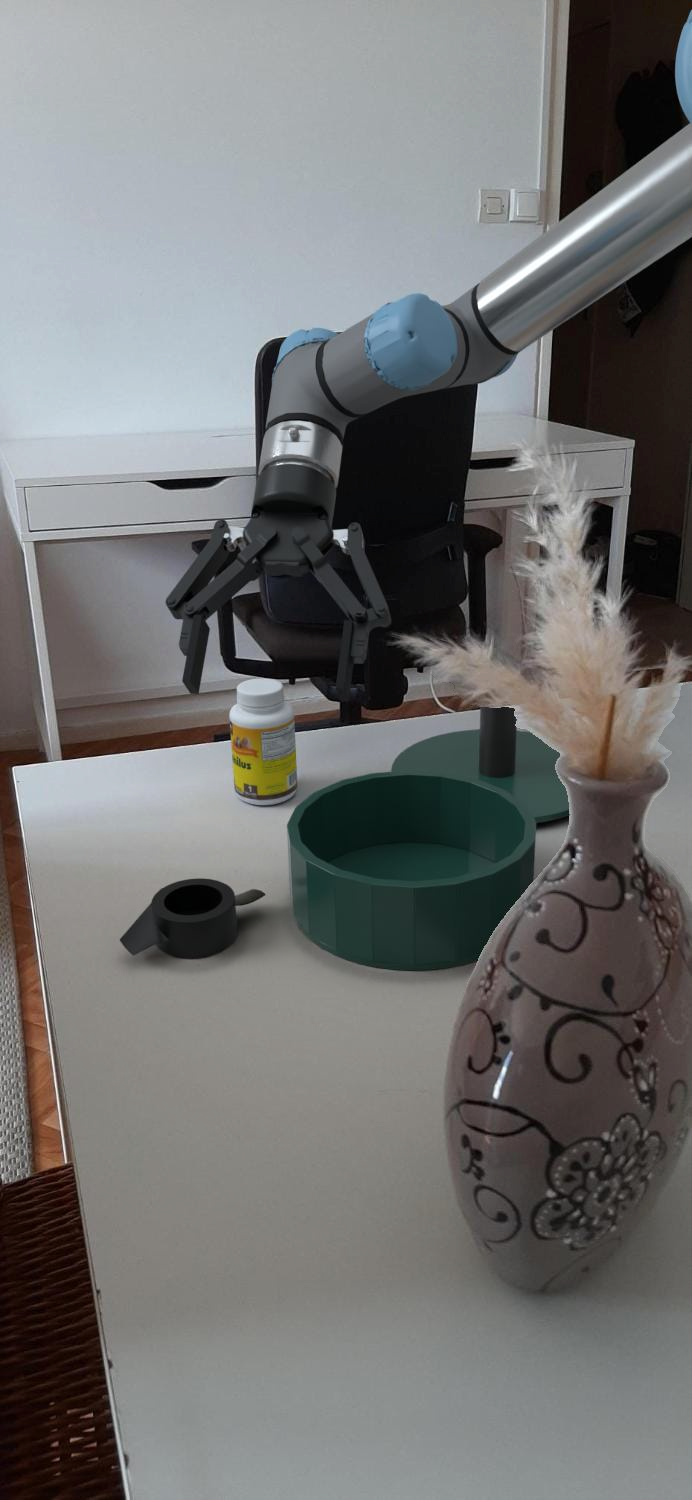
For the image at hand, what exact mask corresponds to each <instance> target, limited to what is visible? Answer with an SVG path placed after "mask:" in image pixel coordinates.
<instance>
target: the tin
mask: <svg viewBox="0 0 692 1500" xmlns="http://www.w3.org/2000/svg"><path fill="white" fill-rule="evenodd" d="M286 836H287V856H288V857H287V858H288V877H289V896H290V901H291V911H292V916H293V918H294V921H295V923H296V925H297V927H298V928H299V929H300V931H301V932H302V933H303V935H305V937H306V938H308V939H309V940H310V941H311V942H313V944H315V945H316V946H318V947H319V948H321V949H323V950H324V951H327V952H328V953H330V954H332V955H334V956H337V957H339V958H342V959H344V960H346V961H349V962H352V963H356V964H360V965H363V966H364V965H365V966H368V967H373V968H378V969H379V968H380V969H387V970H393V971H394V970H395V971H396V970H397V971H430V970H432V971H433V970H439V969H447V968H453V967H458V966H463V965H467V964H470V963H472V962H473V963H475V962H478V961H479V960H478V958H479V956H480V954H481V952H482V950H483V948H484V946H485V945H486V944H487V942H488V940H489V938H490V936H491V935H492V933H493V931H494V930H495V928H496V927H497V926H498V924H499V923H500V921H501V920H502V919H503V918H504V916H505V915H506V913H507V912H508V911H509V910H510V908H511V907H512V906H513V905H514V904H515V902H516V901H517V900H518V899H519V898H520V897H521V895H522V894H523V893H524V892H525V890H526V889H527V888H528V886H529V885H530V884H531V883H532V882H533V881H534V880H535V860H536V843H537V841H536V839H537V823H536V821H535V819H534V817H533V816H532V814H531V813H530V811H529V809H528V808H527V806H526V805H525V804H524V803H523V802H521V801H520V800H518V799H517V798H516V797H514V796H513V795H511V794H510V793H508V792H507V791H506V790H504V789H501V788H499V787H496V786H494V785H491V784H488V783H486V782H483V781H481V780H478V779H474V778H469V777H464V776H459V775H454V774H449V773H443V772H430V771H411V770H408V771H395V772H391V771H385V772H383V771H382V772H372V773H367V774H362V775H359V776H353V777H349V778H346V779H341V780H339V781H337V782H335V783H332V784H330V785H327V786H324V787H323V788H320V789H318V790H316V791H314V792H313V793H312V794H310V795H309V796H307V797H306V798H305V799H303V800H302V801H301V802H300V803H299V804H297V806H295V808H294V809H293V812H292V813H291V815H290V817H289V820H288V821H287V824H286ZM534 882H535V881H534Z"/></svg>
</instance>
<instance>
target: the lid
mask: <svg viewBox="0 0 692 1500" xmlns="http://www.w3.org/2000/svg"><path fill="white" fill-rule="evenodd" d="M514 711H515V709H514V708H509V707H501V708H489V707H480V709H479V729H477V728H476V729H467V730H466V729H465V730H458V731H451V732H447V733H441V734H438V735H434V736H431V737H428V738H425V739H422V740H419V741H417V742H416V743H414V744H411V745H410V746H409V747H407V748H405V749H404V750H403V751H402V752H400V753H399V754H398V755H397V756H396V757H395V759H394V760H393V763H392V765H391V770H390V772H395V771H408V770H411V771H430V772H443V773H449V774H454V775H459V776H464V777H469V778H474V779H478V780H481V781H483V782H486V783H488V784H491V785H494V786H496V787H499V788H501V789H504V790H506V791H507V792H508V793H510V794H511V795H513V796H514V797H516V798H517V799H518V800H520V801H521V802H523V803H524V804H525V805H526V806H527V808H528V809H529V811H530V813H531V814H532V816H533V817H534V819H535V821H536V824H539V823H545V822H550V821H554V820H559V819H562V818H566V817H568V816H570V815H569V802H568V795H567V791H566V788H565V786H564V785H563V784H562V782H561V781H560V779H559V778H558V775H557V773H556V770H555V764H556V761H557V759H558V758H559V757H560V753H559V752H557V751H556V750H554V749H552V748H551V747H549V746H548V745H547V744H545V743H544V742H543V741H542V740H541V739H539V738H538V737H536V736H535V735H533V734H532V733H533V732H531V733H530V731H525V730H518V726H517V727H516V726H515V724H516V721H517V722H518V718H517V719H516V717H515V716H514Z"/></svg>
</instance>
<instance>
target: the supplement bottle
mask: <svg viewBox="0 0 692 1500" xmlns="http://www.w3.org/2000/svg"><path fill="white" fill-rule="evenodd" d="M236 701H237V703H236V704H234V705H233V706H232V707H231V709H230V711H229V714H228V715H229V717H228V718H229V731H230V745H231V746H230V747H231V759H232V773H233V774H232V775H233V785H234V793H235V795H236V796H237V797H238V798H239V799H240V800H241V801H243V802H245V803H247V804H251V805H255V806H272V805H277V804H281V803H283V802H286V801H288V800H290V799H291V798H292V797H293V796H294V795H295V794H296V792H297V791H298V768H297V745H296V727H295V726H296V725H295V724H296V723H295V711H294V707H293V706H292V705H291V704H290V703H289V702H287V701H286V700H285V694H284V685H283V683H282V682H281V681H279V680H276V679H273V678H266V677H265V678H252V679H247V680H244V681H242V682H240V683H239V684H238V685H237V686H236Z"/></svg>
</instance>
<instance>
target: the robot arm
mask: <svg viewBox="0 0 692 1500" xmlns="http://www.w3.org/2000/svg"><path fill="white" fill-rule="evenodd" d="M674 67H675V68H674V79H675V87H676V88H675V89H676V94H677V97H678V100H679V104H680V107H681V110H682V111H683V113H684V115H685V117H686V119H687V120H688V122H689V123H688V124H687V125H685V126H684V127H683V128H681V129H680V130H679V131H677V132H676V133H675V134H674V135H672V136H671V137H669V138H668V139H667V140H666V141H664V142H663V143H662V144H660V145H659V146H658V147H656V148H655V149H654V150H653V151H651V152H650V153H648V154H647V155H646V156H644V157H643V158H642V159H641V160H639V161H638V162H636V164H634V165H633V166H631V167H630V168H629V169H627V170H626V171H624V172H623V173H622V174H621V175H619V176H618V177H617V178H615V179H614V180H612V181H611V182H610V183H608V184H607V185H606V186H605V187H603V188H602V189H601V190H599V191H598V192H597V193H596V194H594V195H593V196H591V197H590V198H589V199H587V200H586V201H585V202H583V203H582V204H581V205H579V206H578V207H577V208H575V209H574V210H573V211H572V212H570V213H569V214H567V216H565V217H564V218H562V219H560V220H559V221H558V222H557V223H556V224H554V225H553V226H552V227H550V228H549V229H548V230H546V231H545V232H544V233H542V234H541V235H539V236H538V237H537V238H536V239H535V240H533V241H531V242H530V243H529V244H528V245H526V246H525V247H524V248H522V249H521V250H520V251H519V252H517V253H516V254H514V255H513V256H512V257H511V258H509V259H508V260H506V261H505V262H504V263H502V264H501V265H500V266H499V267H497V268H496V269H495V270H493V271H492V272H491V273H490V274H488V275H487V276H485V277H484V278H483V279H482V280H481V281H480V282H478V283H477V284H476V285H474V286H472V287H471V288H470V289H469V290H467V291H466V292H464V293H463V294H462V295H461V296H459V297H458V298H457V299H455V300H454V301H452V302H450V303H448V304H445V305H442V304H440V303H439V302H438V301H437V300H432V299H431V298H430V297H429V296H428V295H427V294H424V293H420V292H418V293H417V292H416V293H415V292H414V293H409V294H407V295H405V296H403V297H401V298H399V299H397V300H396V301H393V302H387V303H386V304H383V305H382V306H380V307H379V309H377V310H375V311H374V313H371V314H370V315H369V316H367V317H365V318H363V319H362V320H360V321H358V322H357V323H355V324H354V325H351V326H350V327H349V328H347V329H345V330H343V331H342V332H340V333H337V332H335V331H333V330H330V329H327V328H325V327H324V328H323V327H312V328H311V329H309V330H305V329H303V328H301V329H298V330H296V331H293V332H292V333H291V334H289V335H288V336H287V337H286V338H285V339H284V340H283V341H282V343H281V345H280V349H279V353H278V356H277V361H276V365H275V367H274V368H273V373H272V377H271V390H270V396H269V403H268V409H267V415H266V422H265V429H264V431H265V432H264V436H263V440H262V446H261V453H260V459H259V466H258V473H257V474H258V476H257V478H256V481H255V488H254V493H253V499H252V505H251V511H250V512H251V513H250V519H249V521H248V523H247V524H246V525H245V527H241V526H233V525H229V524H228V522H227V521H226V519H218V520H217V521H215V523H214V526H213V528H212V532H211V536H210V538H209V540H208V542H207V543H206V545H204V547H203V549H202V550H201V551H200V553H199V554H198V555H197V557H196V558H195V559H194V560H193V562H192V563H191V565H190V566H189V567H188V569H187V570H186V571H185V572H184V574H183V575H182V577H181V578H180V580H179V581H178V582H177V584H176V585H175V586H174V587H173V588H172V590H171V592H170V593H169V594H168V595H167V597H166V598H165V606H166V607H167V609H168V611H169V612H170V613H171V616H172V617H173V618H174V619H175V620H182V624H181V629H180V633H179V640H178V647H179V650H180V652H181V653H182V654H183V656H184V657H186V658H185V661H184V662H185V663H184V669H183V674H182V679H181V682H182V684H183V685H184V687H185V688H186V689H187V691H188V693H189V694H191V695H199V694H200V690H201V689H200V688H201V683H202V676H203V671H204V665H205V660H206V654H207V650H208V649H207V648H208V643H209V637H210V631H211V628H210V626H209V624H208V622H207V620H209V618H211V617H212V616H213V615H214V614H215V613H216V612H218V610H219V609H221V608H222V607H223V606H224V605H225V604H226V603H227V602H228V601H231V599H232V598H233V597H234V596H235V595H237V594H238V593H239V592H240V591H241V590H242V589H243V588H244V587H246V585H248V584H249V583H250V582H254V581H256V580H258V579H259V578H260V577H261V576H263V574H264V573H267V574H268V576H269V577H279V576H285V575H288V576H291V577H300V578H302V577H303V576H304V575H305V574H308V573H309V572H311V573H312V575H313V576H314V578H316V580H317V581H318V583H320V584H321V585H322V586H323V587H324V589H325V590H326V592H328V594H329V595H330V596H331V598H332V599H333V601H334V602H335V603H336V604H337V606H338V607H339V608H340V609H341V611H342V612H343V613H344V615H345V616H346V617H347V618H348V619H344V620H343V629H342V635H341V643H340V652H339V657H338V667H337V674H336V682H335V691H336V693H337V696H338V700H339V701H340V702H350V695H351V687H352V679H353V673H354V672H353V670H354V664H361V665H362V664H364V663H365V661H366V660H367V652H368V644H369V636H370V633H371V631H372V630H373V629H375V628H379V627H381V628H388V627H389V626H391V624H392V618H391V612H390V610H389V606H388V603H387V600H386V598H385V596H384V594H383V591H382V589H381V586H380V584H379V582H378V580H377V577H376V575H375V573H374V569H373V568H372V566H371V564H370V561H369V559H368V557H367V555H366V551H365V545H366V544H365V537H364V534H363V530H362V526H361V524H360V523H359V522H350V523H349V525H348V526H347V528H343V529H342V528H341V529H333V521H334V520H333V519H334V514H335V513H334V512H335V507H336V497H337V488H338V484H339V479H340V471H341V470H340V469H341V463H342V454H343V448H344V437H345V433H346V428H347V425H348V424H349V423H351V422H352V421H355V420H357V419H359V418H361V417H364V416H366V415H368V414H370V413H371V412H373V411H375V410H377V409H380V408H381V407H384V406H387V405H388V404H390V403H392V402H395V401H396V400H399V399H402V398H405V397H410V396H415V395H420V394H425V393H430V392H434V391H439V390H443V389H450V388H457V387H460V386H461V387H462V386H466V385H478V384H479V385H480V384H483V383H485V382H489V381H490V380H492V379H493V378H497V377H499V376H501V375H503V374H505V373H506V372H507V371H508V370H509V369H510V368H511V367H512V366H513V364H514V363H515V361H516V359H517V356H518V355H519V353H520V352H522V351H523V350H525V349H526V348H528V347H529V346H531V345H532V344H534V343H536V342H538V340H540V339H541V338H543V337H544V336H546V335H547V334H549V333H550V332H552V331H554V330H555V329H556V328H558V327H559V326H561V325H562V324H563V323H566V322H567V321H568V320H570V319H571V318H574V316H576V315H577V314H578V313H580V312H582V311H583V310H585V309H586V308H588V307H589V306H591V305H592V304H594V303H595V302H597V301H598V300H600V299H601V298H603V297H604V296H605V295H607V294H609V293H610V292H612V291H613V290H614V289H616V288H617V287H619V286H620V285H622V284H623V283H625V282H627V281H628V280H630V279H631V278H632V277H634V276H635V275H637V274H638V273H640V272H641V271H643V270H644V269H646V268H648V267H649V266H650V265H652V264H653V263H655V262H657V261H658V260H660V259H661V258H663V257H664V256H665V255H667V254H668V253H670V252H672V251H673V250H675V249H676V248H677V247H678V246H680V245H682V244H683V243H685V242H686V241H688V240H690V238H691V239H692V9H691V10H690V12H689V15H688V17H687V20H686V22H685V23H684V25H683V28H682V30H681V33H680V37H679V40H678V44H677V50H676V56H675V66H674ZM241 543H245V545H246V547H244V548H243V549H242V550H241V551H239V553H238V554H237V556H236V559H235V560H234V561H233V562H231V564H229V565H228V566H227V567H226V568H225V569H224V570H223V571H222V572H221V573H219V574H218V575H217V573H218V572H219V570H220V569H221V568H222V566H223V565H224V563H225V562H226V561H227V558H228V557H229V554H230V552H235V551H236V548H237V546H238V545H239V544H241ZM335 546H339V547H340V548H341V551H342V553H343V554H346V555H348V556H350V559H351V562H352V565H353V567H354V570H355V572H356V575H357V576H358V580H359V582H360V584H361V586H362V589H363V591H364V593H365V596H366V598H367V600H368V603H369V606H370V608H366V606H363V605H362V604H361V602H360V601H359V600H358V598H357V597H356V596H355V595H354V594H353V592H352V591H351V589H349V587H348V586H347V584H346V583H345V582H344V581H343V579H342V578H341V577H340V576H339V574H338V573H337V572H336V570H334V569H333V567H332V566H331V564H330V563H329V562H328V559H327V558H326V556H327V554H329V552H330V551H331V550H332V549H333V548H334V547H335ZM254 560H255V561H254ZM215 575H217V576H216V577H215ZM214 577H215V578H214ZM213 578H214V579H213Z"/></svg>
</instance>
